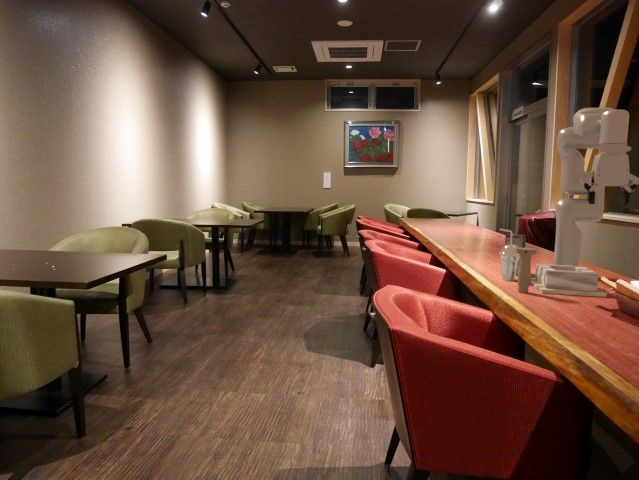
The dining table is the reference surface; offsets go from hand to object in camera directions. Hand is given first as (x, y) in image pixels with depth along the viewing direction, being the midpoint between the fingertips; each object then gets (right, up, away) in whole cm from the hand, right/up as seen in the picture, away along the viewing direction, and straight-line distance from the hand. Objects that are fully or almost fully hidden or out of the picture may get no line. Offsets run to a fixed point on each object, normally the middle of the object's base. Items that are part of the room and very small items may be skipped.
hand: (607, 204), depth 155 cm
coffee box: (-11, -25, +48) cm, 55 cm away
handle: (-23, -29, +11) cm, 39 cm away
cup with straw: (-19, -27, +33) cm, 47 cm away
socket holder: (-5, -29, +18) cm, 34 cm away
